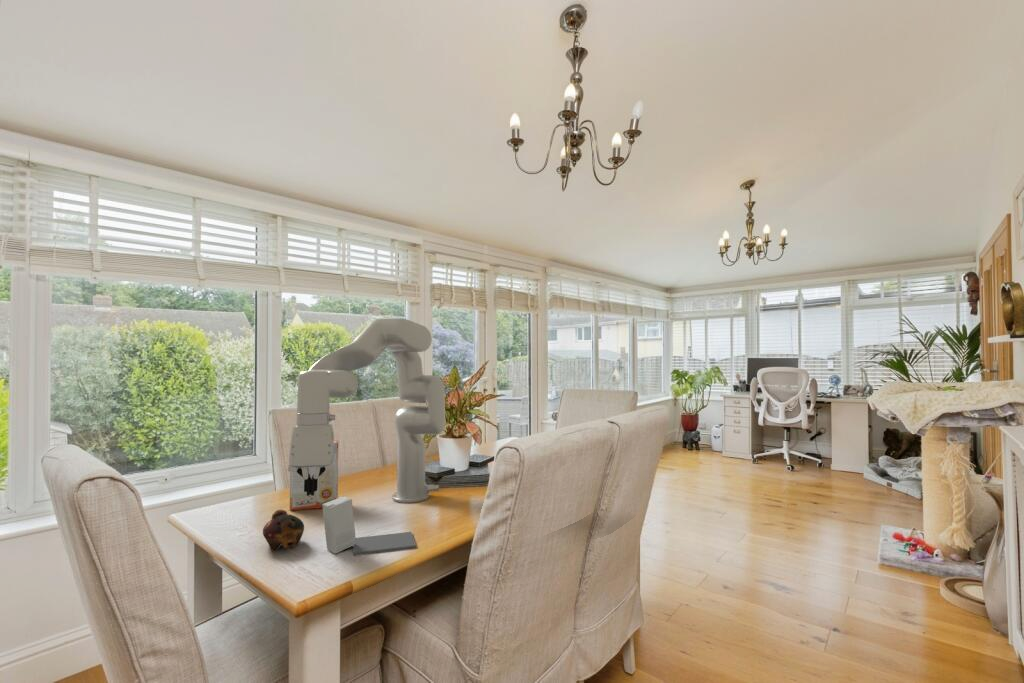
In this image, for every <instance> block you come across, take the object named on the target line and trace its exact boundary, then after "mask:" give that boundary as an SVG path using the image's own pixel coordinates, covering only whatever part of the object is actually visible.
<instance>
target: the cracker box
mask: <svg viewBox="0 0 1024 683" xmlns="http://www.w3.org/2000/svg"><path fill="white" fill-rule="evenodd" d="M333 462H334V469H331V470H328V471H324V472H323V473H322V474H321V475H320V476H319V477H318V487H317V491H315V492H314V496H311V493H310V495H309V496H307V492H304V479H303V477H302V476H300V475H299V474H298V473H295V472H289V511H299V510H312V509H323V507H322V504H325V503H327V502H330V501H332V500H335V499H338V498H339V440H338V439H334V458H333ZM321 467H322V466H321ZM308 469H309V475H310V478H311V479H312V476H313V474H314V471H315V466H314V467H308Z"/></svg>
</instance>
